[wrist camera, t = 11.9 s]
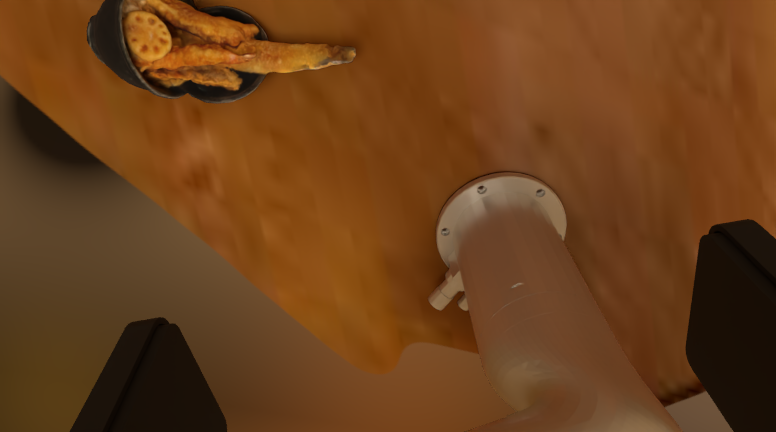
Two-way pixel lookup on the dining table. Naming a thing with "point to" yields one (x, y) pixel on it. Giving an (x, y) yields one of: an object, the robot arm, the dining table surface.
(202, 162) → the dining table surface
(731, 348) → the robot arm
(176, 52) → the fried shrimp in bowl
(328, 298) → the dining table surface
